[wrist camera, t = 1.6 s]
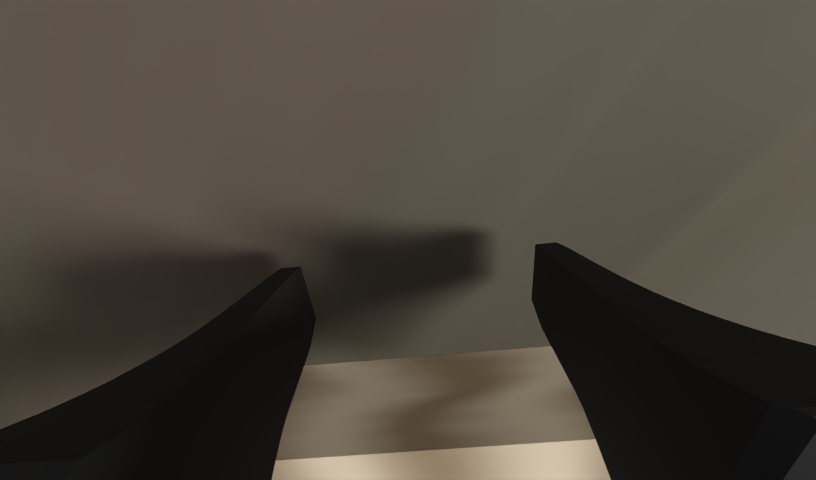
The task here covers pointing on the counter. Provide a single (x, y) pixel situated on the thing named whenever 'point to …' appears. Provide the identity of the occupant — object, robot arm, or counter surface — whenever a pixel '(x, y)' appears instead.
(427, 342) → the counter surface
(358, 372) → the t block
